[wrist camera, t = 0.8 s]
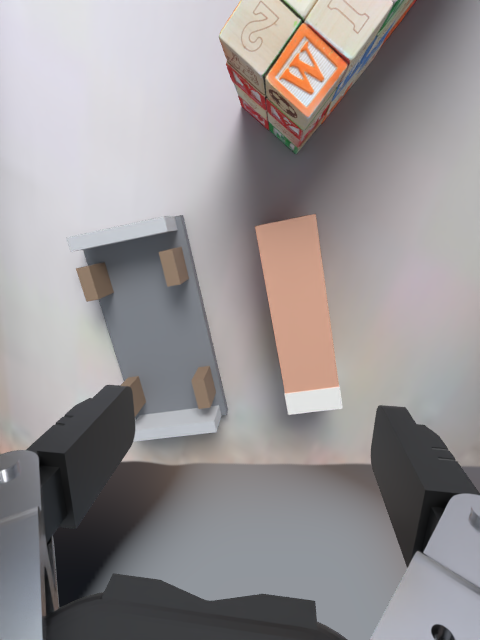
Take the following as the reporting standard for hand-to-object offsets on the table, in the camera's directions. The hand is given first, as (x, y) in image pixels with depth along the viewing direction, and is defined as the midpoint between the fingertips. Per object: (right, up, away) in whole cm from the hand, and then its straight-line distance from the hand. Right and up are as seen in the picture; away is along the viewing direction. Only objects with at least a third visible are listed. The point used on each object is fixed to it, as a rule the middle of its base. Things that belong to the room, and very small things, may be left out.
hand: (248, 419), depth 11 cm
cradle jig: (-8, +2, +24) cm, 26 cm away
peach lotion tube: (+5, +5, +22) cm, 23 cm away
